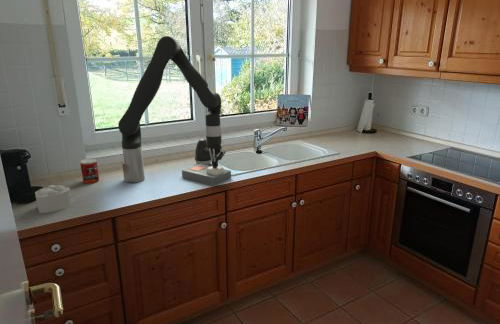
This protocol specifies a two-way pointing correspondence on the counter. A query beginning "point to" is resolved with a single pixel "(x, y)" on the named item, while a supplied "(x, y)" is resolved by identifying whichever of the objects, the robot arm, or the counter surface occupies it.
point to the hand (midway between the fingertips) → (215, 167)
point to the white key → (215, 170)
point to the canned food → (89, 171)
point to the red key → (197, 168)
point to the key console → (205, 175)
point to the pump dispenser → (201, 153)
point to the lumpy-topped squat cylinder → (53, 198)
